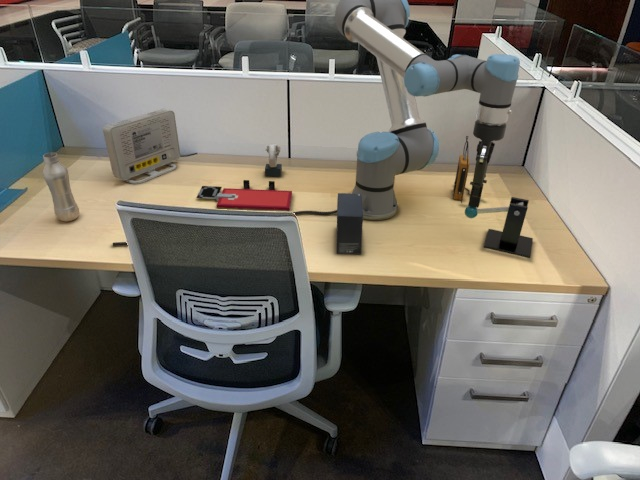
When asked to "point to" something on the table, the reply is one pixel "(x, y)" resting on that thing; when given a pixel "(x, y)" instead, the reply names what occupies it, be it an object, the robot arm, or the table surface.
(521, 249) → the lever base
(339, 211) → the small box
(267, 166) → the white figurine
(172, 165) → the network device
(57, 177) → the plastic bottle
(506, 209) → the ball knob joystick
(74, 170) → the table surface
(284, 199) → the red board with handle
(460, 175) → the multimeter
